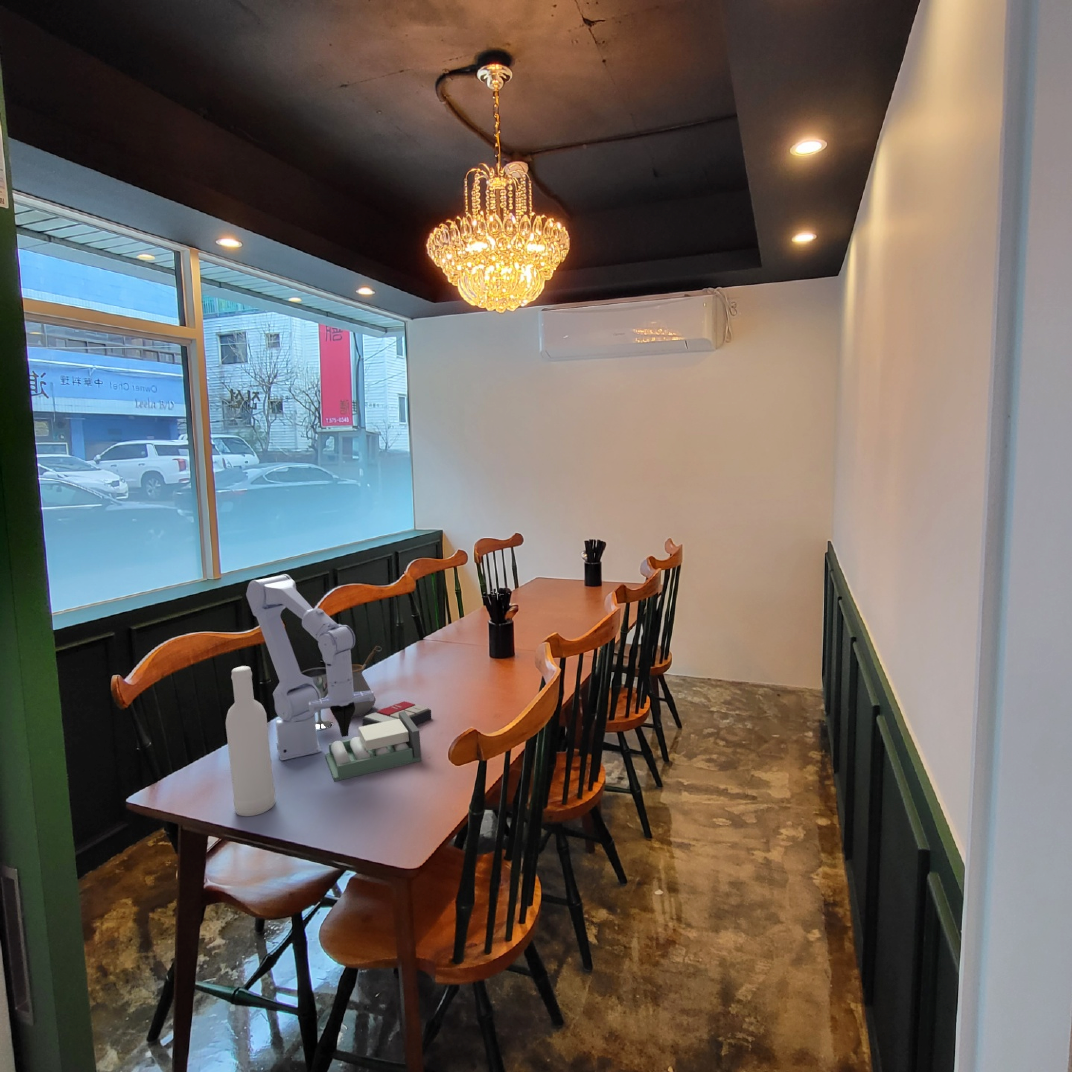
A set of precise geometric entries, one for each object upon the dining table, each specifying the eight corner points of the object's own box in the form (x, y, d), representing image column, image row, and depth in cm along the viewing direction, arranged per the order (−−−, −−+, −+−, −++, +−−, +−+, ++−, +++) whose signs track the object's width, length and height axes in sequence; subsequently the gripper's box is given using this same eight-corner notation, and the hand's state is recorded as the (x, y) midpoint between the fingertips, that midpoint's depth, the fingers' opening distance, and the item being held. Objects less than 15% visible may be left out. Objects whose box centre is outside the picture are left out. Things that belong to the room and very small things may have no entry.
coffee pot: (363, 721, 185) (359, 668, 183) (326, 718, 188) (322, 666, 186) (399, 693, 205) (395, 645, 203) (365, 691, 208) (361, 644, 206)
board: (366, 750, 156) (365, 740, 155) (359, 736, 164) (358, 727, 163) (408, 741, 160) (408, 731, 159) (399, 727, 168) (399, 718, 168)
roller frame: (334, 781, 151) (331, 749, 150) (325, 756, 163) (322, 727, 162) (421, 760, 159) (419, 730, 158) (406, 738, 172) (404, 710, 171)
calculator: (431, 706, 184) (389, 723, 172) (432, 722, 184) (389, 739, 172) (404, 699, 190) (361, 714, 178) (404, 714, 191) (362, 730, 179)
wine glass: (324, 717, 188) (320, 665, 186) (341, 723, 183) (336, 670, 181) (299, 727, 182) (294, 673, 180) (315, 734, 177) (310, 679, 175)
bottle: (263, 793, 147) (250, 660, 143) (283, 804, 142) (269, 666, 138) (227, 809, 141) (212, 670, 137) (246, 821, 136) (231, 677, 132)
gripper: (309, 690, 149) (314, 748, 151) (374, 678, 155) (379, 734, 157) (305, 680, 156) (310, 736, 157) (368, 669, 162) (372, 723, 163)
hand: (344, 735), depth 158 cm, fingers closed
